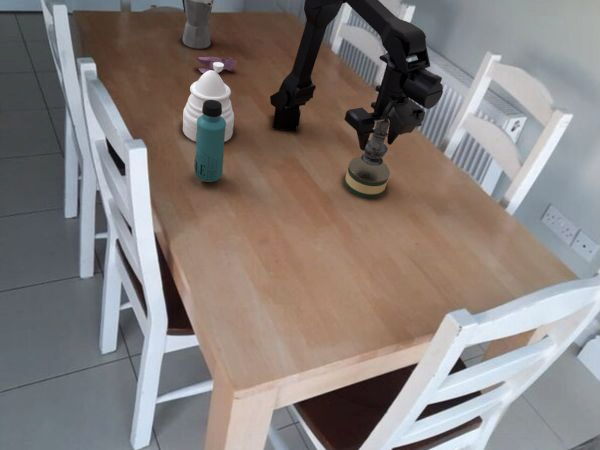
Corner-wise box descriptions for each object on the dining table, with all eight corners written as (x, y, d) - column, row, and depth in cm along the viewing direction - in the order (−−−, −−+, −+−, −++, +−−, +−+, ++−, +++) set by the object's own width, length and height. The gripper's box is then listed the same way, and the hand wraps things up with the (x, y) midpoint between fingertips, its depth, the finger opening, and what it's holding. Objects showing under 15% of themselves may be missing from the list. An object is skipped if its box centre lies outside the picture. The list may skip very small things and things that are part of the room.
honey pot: (211, 112, 152) (216, 50, 141) (242, 135, 146) (249, 71, 135) (172, 125, 144) (173, 60, 133) (203, 149, 138) (207, 83, 127)
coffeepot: (220, 48, 183) (224, -7, 172) (196, 53, 178) (199, -4, 166) (192, 30, 191) (194, -25, 179) (168, 34, 185) (169, -22, 173)
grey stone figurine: (385, 167, 131) (400, 123, 124) (361, 165, 131) (374, 120, 123) (381, 153, 136) (395, 110, 128) (358, 150, 135) (370, 107, 127)
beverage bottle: (226, 176, 132) (233, 101, 119) (214, 191, 127) (220, 114, 114) (201, 167, 133) (206, 92, 120) (188, 182, 128) (191, 104, 115)
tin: (345, 196, 134) (350, 178, 130) (342, 171, 141) (347, 154, 138) (387, 200, 135) (393, 183, 132) (381, 176, 143) (387, 159, 139)
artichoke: (200, 56, 164) (238, 57, 170) (196, 53, 167) (233, 54, 173) (199, 74, 167) (237, 74, 172) (195, 70, 170) (232, 70, 175)
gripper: (382, 111, 111) (364, 174, 122) (449, 99, 120) (427, 159, 131) (351, 84, 118) (336, 146, 128) (417, 75, 127) (397, 133, 137)
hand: (375, 146), depth 131 cm, fingers closed on grey stone figurine, 8 cm apart
